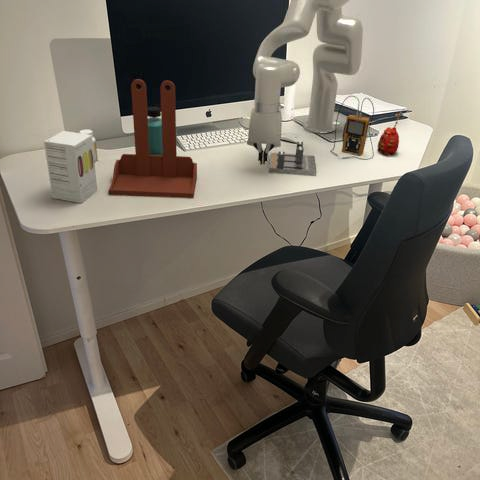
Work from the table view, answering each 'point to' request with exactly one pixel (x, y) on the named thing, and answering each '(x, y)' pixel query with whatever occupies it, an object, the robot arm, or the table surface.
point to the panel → (293, 165)
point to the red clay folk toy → (389, 141)
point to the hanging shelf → (154, 166)
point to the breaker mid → (299, 155)
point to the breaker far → (299, 145)
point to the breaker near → (281, 159)
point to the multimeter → (355, 133)
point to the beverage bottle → (155, 131)
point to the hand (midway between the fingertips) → (262, 162)
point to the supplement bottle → (92, 142)
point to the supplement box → (71, 166)
